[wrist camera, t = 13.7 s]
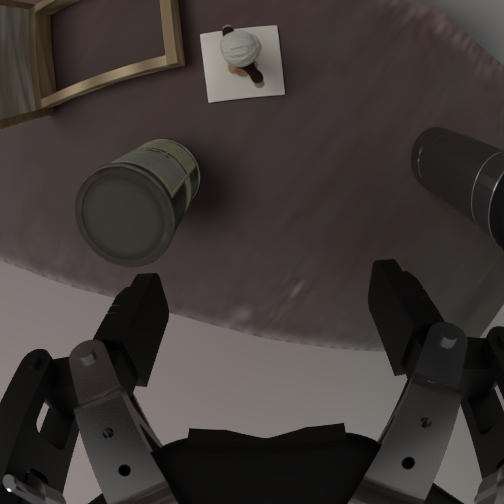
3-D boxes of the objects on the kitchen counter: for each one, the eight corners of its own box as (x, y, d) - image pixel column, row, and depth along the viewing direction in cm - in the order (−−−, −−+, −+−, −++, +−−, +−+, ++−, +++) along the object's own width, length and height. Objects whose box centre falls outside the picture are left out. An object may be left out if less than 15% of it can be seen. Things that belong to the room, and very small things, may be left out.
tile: (276, 26, 28) (276, 25, 27) (284, 94, 32) (284, 94, 32) (200, 35, 28) (200, 34, 28) (209, 102, 33) (208, 102, 32)
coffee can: (211, 199, 39) (191, 253, 27) (144, 220, 41) (103, 277, 28) (185, 126, 34) (147, 146, 22) (116, 154, 36) (58, 188, 24)
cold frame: (174, -45, 22) (138, -93, 9) (186, 73, 31) (147, 63, 19) (40, 9, 23) (-23, 1, 11) (49, 115, 32) (-18, 135, 20)
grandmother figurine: (209, 50, 29) (186, 29, 18) (235, 31, 28) (224, 0, 17) (251, 96, 32) (248, 96, 21) (277, 77, 31) (288, 68, 20)
